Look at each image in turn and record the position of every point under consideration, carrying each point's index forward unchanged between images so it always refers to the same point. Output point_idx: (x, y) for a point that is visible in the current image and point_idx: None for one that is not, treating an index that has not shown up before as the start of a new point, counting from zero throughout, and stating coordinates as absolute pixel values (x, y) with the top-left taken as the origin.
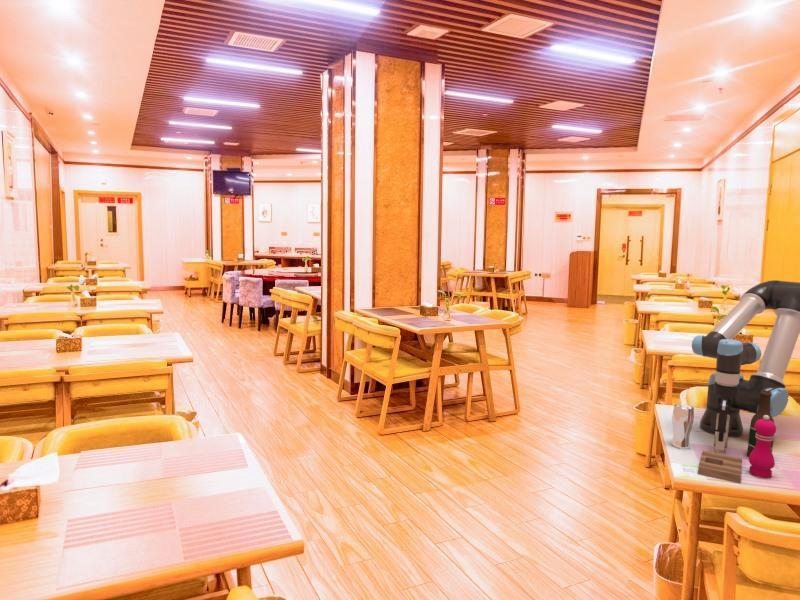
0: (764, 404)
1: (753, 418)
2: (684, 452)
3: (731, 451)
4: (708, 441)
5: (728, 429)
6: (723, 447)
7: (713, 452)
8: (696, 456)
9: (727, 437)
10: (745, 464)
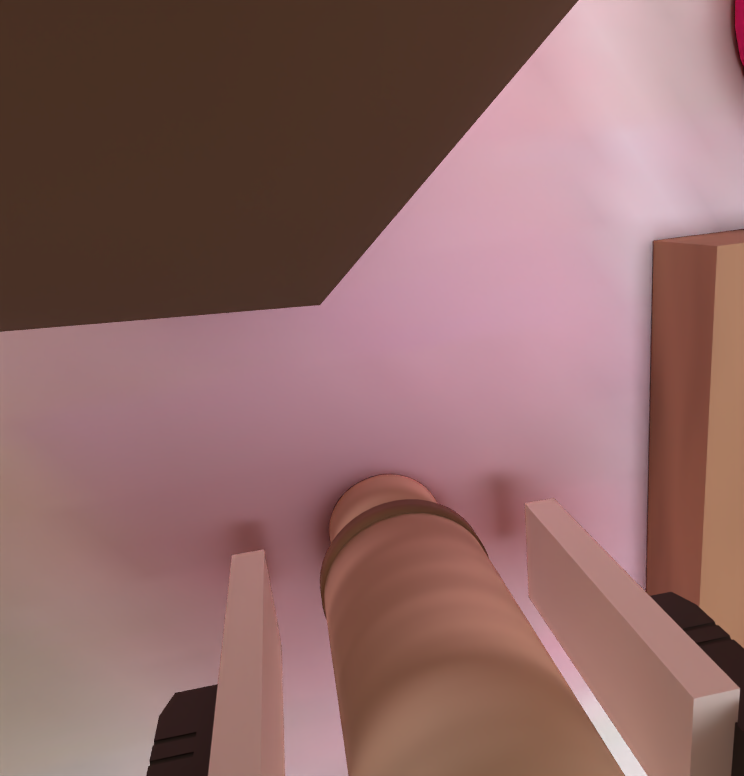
0: None
1: (366, 115)
2: None
3: (210, 433)
4: (29, 724)
5: (500, 719)
6: (573, 529)
7: (709, 574)
8: None
9: (463, 595)
10: (601, 204)
